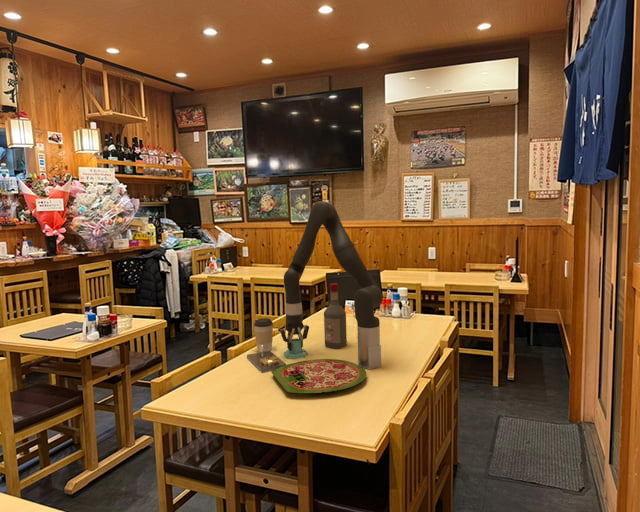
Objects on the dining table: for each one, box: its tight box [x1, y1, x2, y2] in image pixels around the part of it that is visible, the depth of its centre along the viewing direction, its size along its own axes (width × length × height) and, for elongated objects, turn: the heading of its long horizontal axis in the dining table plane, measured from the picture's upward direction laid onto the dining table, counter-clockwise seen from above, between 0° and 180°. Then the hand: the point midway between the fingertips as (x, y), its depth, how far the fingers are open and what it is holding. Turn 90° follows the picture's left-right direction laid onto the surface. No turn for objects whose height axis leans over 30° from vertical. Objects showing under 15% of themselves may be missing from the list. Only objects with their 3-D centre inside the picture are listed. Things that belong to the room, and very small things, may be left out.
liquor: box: [323, 282, 348, 350], centre depth 225 cm, size 9×9×30 cm
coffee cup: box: [253, 317, 274, 353], centre depth 222 cm, size 9×9×15 cm
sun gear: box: [260, 356, 280, 366], centre depth 201 cm, size 8×8×2 cm
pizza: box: [271, 358, 367, 394], centre depth 185 cm, size 35×35×2 cm
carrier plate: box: [246, 345, 288, 373], centre depth 205 cm, size 21×11×6 cm, turn 25°
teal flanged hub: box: [283, 337, 308, 360], centre depth 214 cm, size 10×10×7 cm
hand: (295, 349), depth 214 cm, fingers closed on teal flanged hub, 4 cm apart
